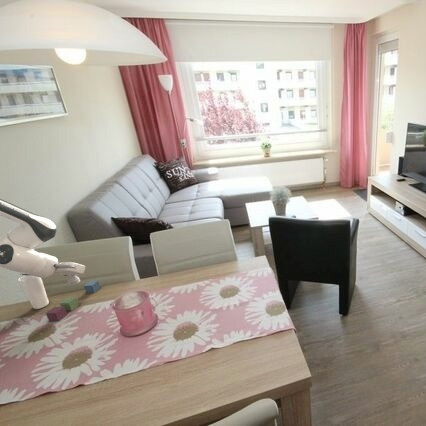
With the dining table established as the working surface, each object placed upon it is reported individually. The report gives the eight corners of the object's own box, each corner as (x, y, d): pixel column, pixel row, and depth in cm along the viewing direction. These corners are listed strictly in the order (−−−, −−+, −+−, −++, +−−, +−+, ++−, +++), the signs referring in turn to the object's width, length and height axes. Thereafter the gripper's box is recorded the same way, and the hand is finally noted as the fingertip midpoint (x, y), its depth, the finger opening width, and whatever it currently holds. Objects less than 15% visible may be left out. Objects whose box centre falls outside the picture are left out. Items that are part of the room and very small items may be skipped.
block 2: (71, 310, 125) (68, 302, 123) (62, 311, 125) (59, 303, 123) (79, 304, 128) (76, 297, 127) (70, 305, 129) (67, 297, 127)
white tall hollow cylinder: (27, 310, 127) (13, 280, 122) (43, 300, 133) (30, 272, 128) (39, 311, 126) (26, 281, 121) (55, 301, 132) (43, 272, 127)
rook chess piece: (70, 287, 126) (63, 270, 123) (66, 284, 128) (59, 268, 125) (82, 282, 129) (76, 266, 126) (78, 279, 132) (72, 263, 129)
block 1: (58, 321, 119) (55, 313, 117) (49, 321, 119) (45, 313, 117) (67, 314, 122) (63, 306, 121) (57, 314, 122) (54, 307, 121)
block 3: (94, 292, 137) (91, 285, 136) (86, 293, 137) (83, 285, 136) (100, 287, 141) (98, 280, 139) (92, 288, 141) (89, 280, 139)
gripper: (71, 256, 116) (97, 265, 129) (22, 259, 117) (52, 267, 129) (65, 272, 113) (92, 280, 126) (15, 274, 114) (47, 282, 127)
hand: (72, 273), depth 128 cm, fingers closed on rook chess piece, 3 cm apart
